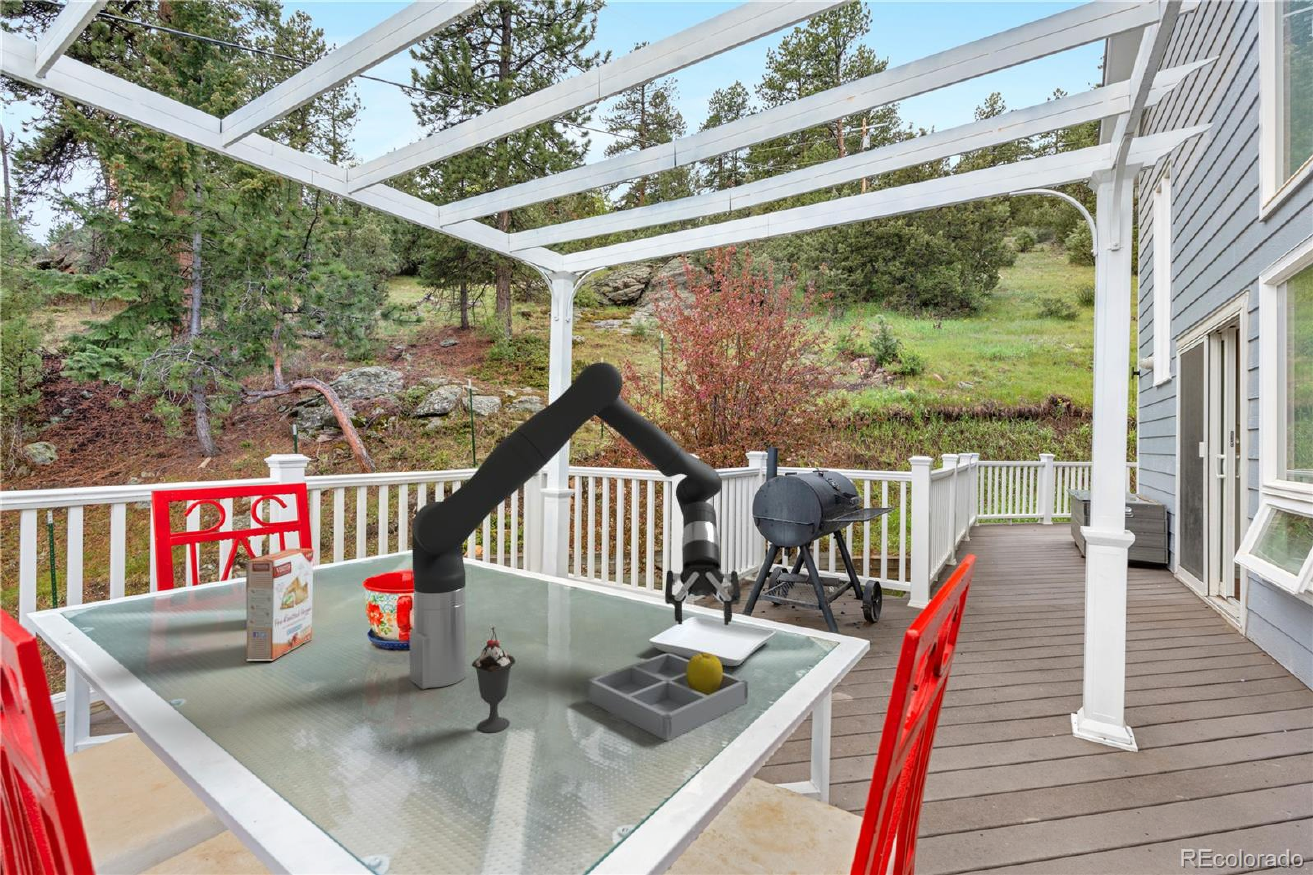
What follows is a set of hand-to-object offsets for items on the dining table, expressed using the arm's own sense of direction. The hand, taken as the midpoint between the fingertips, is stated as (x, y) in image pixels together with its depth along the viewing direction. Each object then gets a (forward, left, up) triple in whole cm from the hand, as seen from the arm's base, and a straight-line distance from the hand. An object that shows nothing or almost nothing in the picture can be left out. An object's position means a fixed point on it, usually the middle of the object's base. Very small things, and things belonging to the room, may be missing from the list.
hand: (703, 622), depth 112 cm
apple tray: (-10, 0, -11) cm, 15 cm away
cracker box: (-52, +75, -12) cm, 92 cm away
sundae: (-36, +13, -12) cm, 40 cm away
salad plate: (+16, +12, -12) cm, 23 cm away
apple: (-5, -5, -11) cm, 13 cm away
